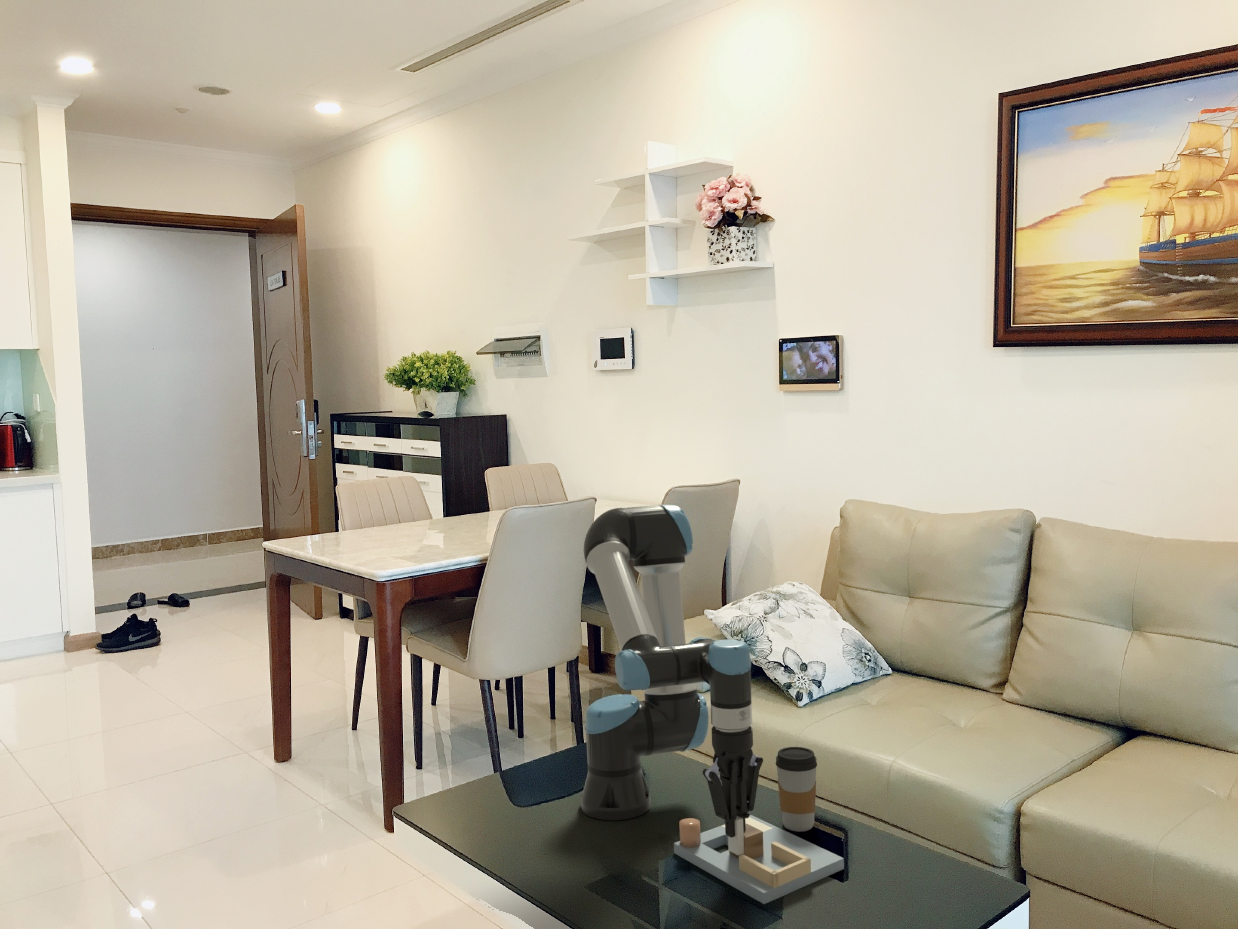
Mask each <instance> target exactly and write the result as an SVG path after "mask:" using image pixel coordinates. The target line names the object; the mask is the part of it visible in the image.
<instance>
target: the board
mask: <svg viewBox="0 0 1238 929" xmlns="http://www.w3.org/2000/svg"><path fill="white" fill-rule="evenodd" d="M745 822H746V824H749V825H751V826H753V827H755V828H757V829H759V830H761V831H763V851H764V855H763V856H760V857H758V858H755V859H751V858H749V857H747V856H745V855H743V854H742V855H740V856H739V858H737V857H735V856H733V855H731V854H729V850H728V849H727V850H725V851H722V852H718V851H717V850H715V849H718V848H719V847H722V846H725V845H726V846H728V836H727V835H726V833H725V823H724V824H722V825H719V826H716V827H714V828H711V829H708V830H706V831H703V832H700V833H701V844H700V845H699V846H697V847H692V848H689V847H684V846H682V845H681V844H680V840H679V841H676V842H674V843H673V854H675V855H677V856H679V857H680V858H682V859H683V860H686V861H687V862H689V863H691V864H692V865H694V866H697V867H698V868H700V869H701V870H703V871H705V872H707V873H709V874H710V875H712V876H714V877H716V879H719V880H721V881H722V882H724V883H725V884H727V885H730V886H731V887H733V888H735V889H736V890H738V891H740V892H741V893H744V894H745V895H747V896H749V897H751V898H752V899H754V900H755V901H758V902H760V903H761V904H762V905H766V904H769V903H770V902H772V901H775V900H777V899H779V898H781V897H784V896H787V895H789V894H790V893H793V892H795V891H797V890H799V889H801V888H804V887H806V886H809V885H812V884H813V883H815V882H817V881H820V880H822V879H825V878H826V877H829V876H832V875H833V874H836V873H837V872H841V871H842V870H844V869H845V868H844V867H845V861H844V860H845V859H844V857H842V856H840V855H838V854H836V853H834V852H831V851H829V850H827V849H825V848H822V847H820V846H818V845H816V844H814V843H812V842H810V841H808V840H806V839H804V838H801V837H799V836H797V835H795V834H793V833H791V832H789V831H787V830H784V829H782V828H780V827H777V826H775V825H773V824H771V823H769V822H767V821H764V820H763V819H761V818H759V817H756V816H754V815H752V814H750V816H749V818H745Z"/></svg>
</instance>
